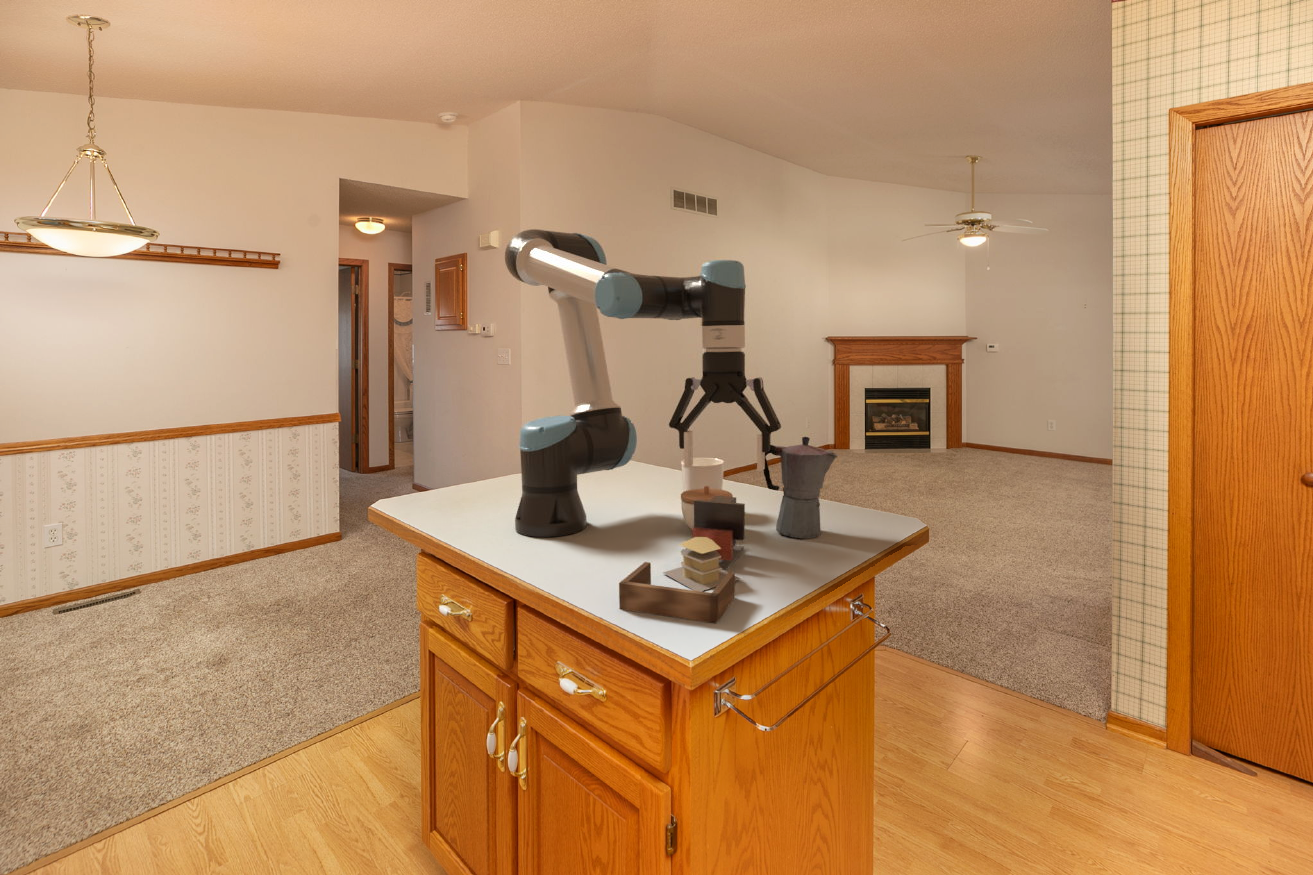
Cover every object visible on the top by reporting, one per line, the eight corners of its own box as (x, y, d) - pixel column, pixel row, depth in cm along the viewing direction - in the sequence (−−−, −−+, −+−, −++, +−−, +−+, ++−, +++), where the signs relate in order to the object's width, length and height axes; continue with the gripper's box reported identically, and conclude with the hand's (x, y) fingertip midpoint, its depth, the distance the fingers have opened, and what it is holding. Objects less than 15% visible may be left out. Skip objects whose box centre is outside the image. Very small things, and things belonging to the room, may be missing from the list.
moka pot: (836, 541, 130) (839, 441, 127) (757, 538, 133) (758, 439, 130) (833, 528, 139) (836, 433, 136) (759, 525, 142) (760, 432, 139)
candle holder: (731, 510, 154) (731, 459, 152) (711, 520, 146) (711, 467, 144) (694, 505, 159) (694, 456, 158) (673, 514, 151) (672, 463, 149)
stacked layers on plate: (741, 578, 110) (740, 547, 108) (697, 592, 105) (696, 559, 104) (704, 560, 118) (704, 531, 117) (662, 572, 113) (661, 542, 112)
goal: (619, 608, 99) (619, 583, 98) (645, 585, 108) (644, 561, 108) (716, 623, 93) (716, 596, 93) (734, 597, 103) (734, 572, 102)
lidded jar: (718, 540, 132) (718, 494, 130) (671, 532, 137) (671, 488, 136) (740, 527, 141) (741, 484, 139) (696, 520, 146) (696, 479, 145)
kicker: (686, 555, 118) (686, 506, 117) (702, 540, 127) (702, 494, 125) (736, 561, 115) (737, 510, 113) (749, 545, 123) (750, 498, 122)
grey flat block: (694, 565, 117) (694, 561, 117) (713, 546, 128) (713, 543, 128) (727, 569, 115) (727, 565, 115) (743, 549, 126) (743, 546, 126)
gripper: (650, 351, 119) (652, 468, 122) (790, 349, 110) (788, 475, 113) (665, 351, 126) (667, 461, 129) (797, 349, 117) (796, 467, 120)
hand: (724, 468), depth 121 cm, fingers open, 13 cm apart
